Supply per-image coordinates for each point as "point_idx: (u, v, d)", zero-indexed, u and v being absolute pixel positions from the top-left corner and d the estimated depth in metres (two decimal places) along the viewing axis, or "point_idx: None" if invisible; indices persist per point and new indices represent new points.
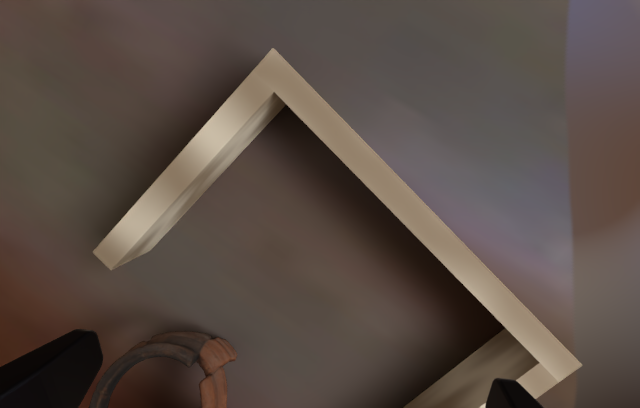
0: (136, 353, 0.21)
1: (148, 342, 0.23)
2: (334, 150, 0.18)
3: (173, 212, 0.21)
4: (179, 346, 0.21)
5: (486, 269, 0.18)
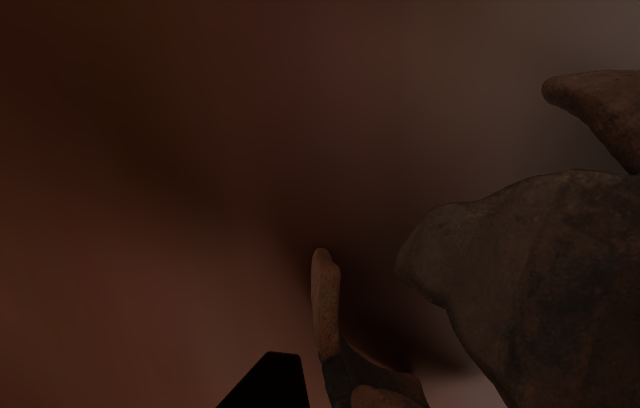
0: None
1: None
2: None
3: None
4: None
5: None
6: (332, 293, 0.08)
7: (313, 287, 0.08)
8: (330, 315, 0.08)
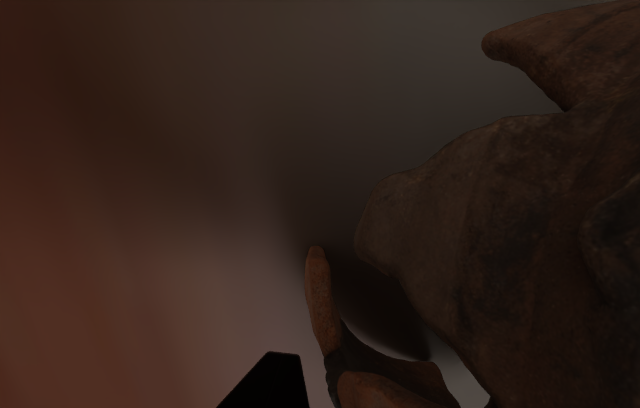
0: None
1: None
2: None
3: None
4: None
5: None
6: (323, 287, 0.08)
7: (305, 284, 0.08)
8: (324, 310, 0.08)
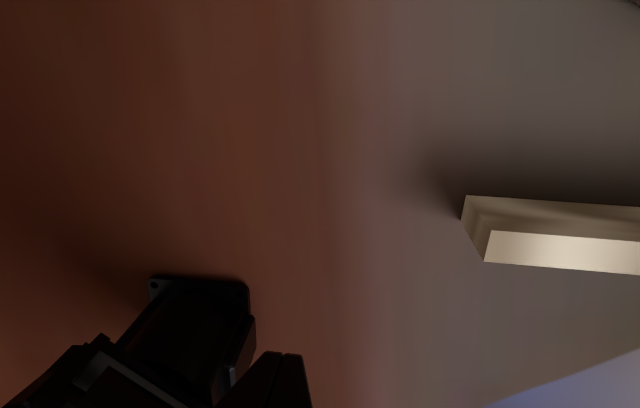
0: None
1: None
2: None
3: None
4: None
5: None
6: None
7: None
8: None
